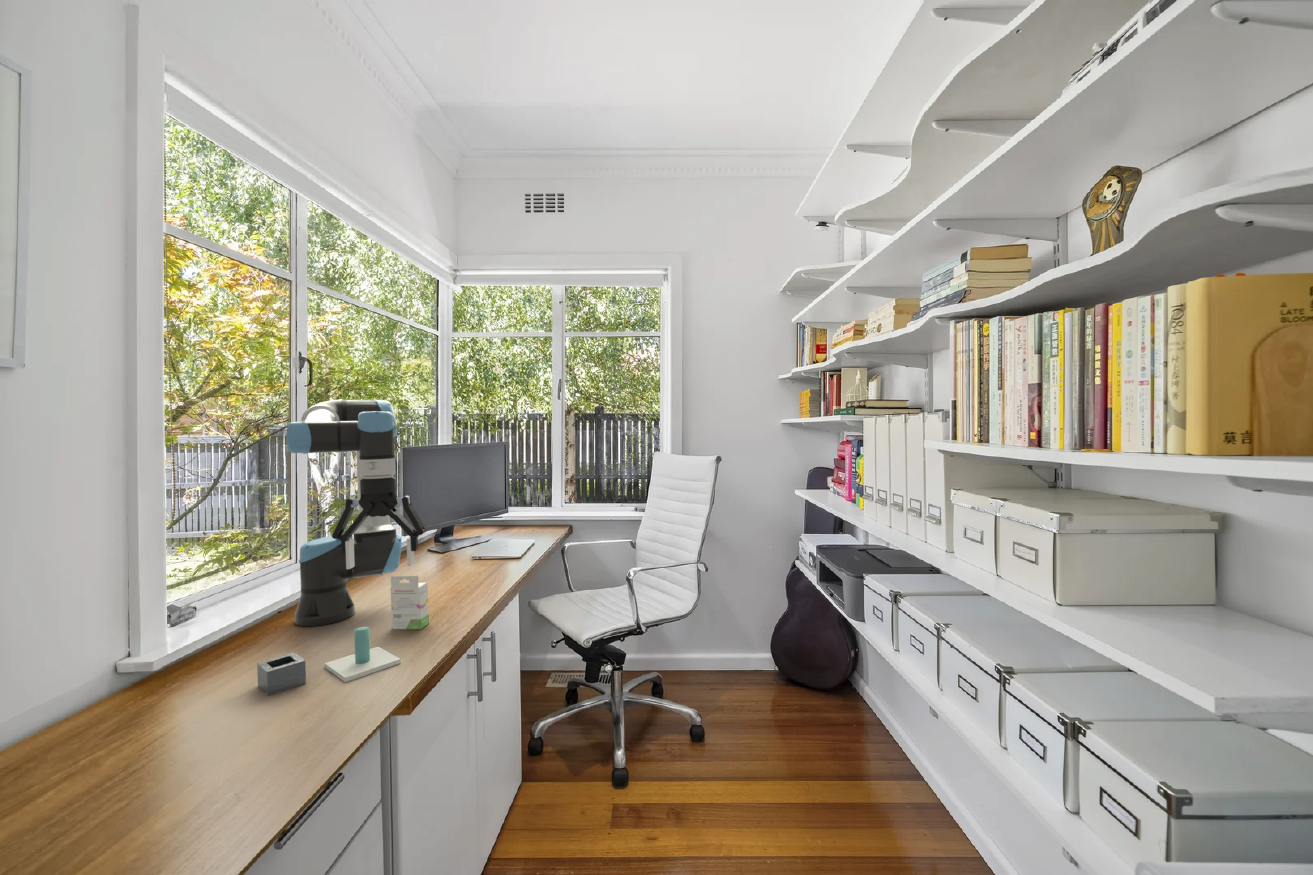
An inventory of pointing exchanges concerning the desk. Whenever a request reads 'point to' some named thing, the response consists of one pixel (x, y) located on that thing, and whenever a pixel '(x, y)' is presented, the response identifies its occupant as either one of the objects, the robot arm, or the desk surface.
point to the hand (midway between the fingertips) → (380, 566)
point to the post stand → (361, 659)
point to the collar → (281, 673)
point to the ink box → (409, 603)
